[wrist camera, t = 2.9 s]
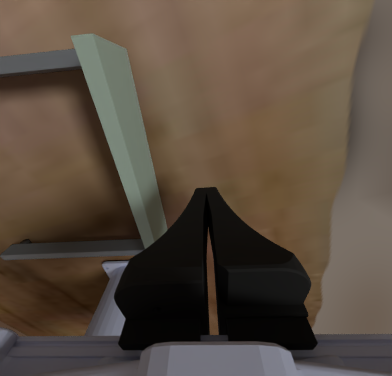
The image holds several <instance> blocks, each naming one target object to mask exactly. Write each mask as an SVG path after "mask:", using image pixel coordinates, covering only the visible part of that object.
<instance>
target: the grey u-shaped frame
mask: <svg viewBox="0 0 392 376" xmlns="http://www.w3.org/2000/svg"><path fill="white" fill-rule="evenodd" d="M71 38H72V41H73V44H74V47H75V49H68V50H58V51H49V52H40V53H31V54H22V55H13V56H4V57H0V77H9V76H19V75H29V74H39V73H48V72H58V71H68V70H78V69H82V70H83V73H84V76H85V79H86V81H87V84H88V87H89V90H90V93H91V96H92V99H93V101H94V104H95V107H96V110H97V113H98V116H99V119H100V121H101V124H102V127H103V130H104V133H105V136H106V139H107V141H108V144H109V147H110V150H111V153H112V156H113V159H114V162H115V164H116V167H117V170H118V173H119V176H120V179H121V182H122V184H123V187H124V190H125V193H126V196H127V199H128V202H129V204H130V207H131V210H132V213H133V216H134V219H135V222H136V224H137V227H138V230H139V233H140V236H141V239H126V240H103V241H79V242H56V243H33V244H32V243H31V242H30V240H29V239H26V240H23V241H22V242H21V243H20V244H12V245H11V246H10V247H9V248H8V249H6V250H5V251H4V252H3V253H2V254H1V255H0V257H1V258H2V259H3V260H18V259H45V258H72V257H98V256H125V255H137V254H139V253H140V252H142V251H143V250H144V249H146V248H147V247H149V246H150V245H151V244H153V243H154V242H155V241H156V240H157V239H159V238H160V237H161V236H162V235H163V234H164V233H165V232H166V231H167V230H168V229H167V225H166V220H165V216H164V212H163V207H162V203H161V198H160V194H159V190H158V185H157V181H156V176H155V172H154V168H153V163H152V159H151V155H150V150H149V146H148V141H147V137H146V133H145V128H144V124H143V119H142V115H141V111H140V106H139V102H138V97H137V93H136V89H135V84H134V80H133V76H132V71H131V67H130V62H129V58H128V54H127V49H126V48H123V47H121V46H119V45H117V44H115V43H112V42H110V41H108V40H106V39H104V38H101V37H99V36H97V35H95V34H84V35H75V36H71Z"/></svg>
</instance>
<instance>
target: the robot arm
mask: <svg viewBox="0 0 392 376" xmlns="http://www.w3.org/2000/svg"><path fill="white" fill-rule="evenodd" d="M208 227H209V234H210V240H211V246H212V252H213V259H214V271H215V286H216V300H217V314H218V329H219V335H210V332H209V309H208V286H207V262H206V260H207V237H208ZM102 266H103V268H104V270H105V272H106V273H107V275H108V277H109V278H110V280H109V282H108V285H107V287H106V289H105V291H104V293H103V296H102V298H101V300H100V302H99V304H98V307H97V309H96V311H95V313H94V315H93V318H92V320H91V322H90V324H89V326H88V329H87V331H86V333H85V335H84V336H18V334H16V333H15V332H14V331H12V330H10V329H7V328H0V376H392V334H315V335H314V333H313V331H312V329H311V326H310V324H309V322H308V320H307V318H306V317H308V312H307V310H306V308H305V305H304V301H305V299H306V297H307V295H308V293H309V290H310V287H311V281H310V278H309V276H308V275H307V273H306V271H305V269H304V268H303V266H302V265H301V263H300V262H299V260H298V259H297V258H296V256H295V255H294V254H293V253H292V252H290V251H288V250H286V249H284V248H282V247H280V246H279V245H277V244H275V243H273V242H271V241H270V240H268V239H267V238H265V237H263V236H262V235H260V234H259V233H258V232H256V231H255V230H253V229H252V228H251V227H249V226H248V225H247V224H246V223H245V222H244V221H242V220H241V219H240V218H239V217H238V216H237V215H236V214H235V213H234V212H233V210H232V209H231V208H230V207H229V206H228V205H227V203H226V202H225V201H224V199H223V198H222V196H221V195H220V193H219V192H218V190H217V188H216V187H209V188H196V189H195V192H194V194H193V196H192V198H191V200H190V202H189V203H188V205H187V207H186V208H185V210H184V211H183V213H182V214H181V215H180V217H179V218H178V219H177V220H176V222H175V223H174V224H173V225H172V226H171V227H170V228H169V229H168V230H167V231H166V232H165V233H164V234H163V235H162V236H161V237H160V238H159V239H157V240H156V241H155V242H154V243H153V244H151V245H150V246H149V247H147V248H146V249H144V250H143V251H142V252H140V253H139V254H137V255H136V256H134V257H133V258H131V259H130V260H129V261H107V262H103V264H102Z"/></svg>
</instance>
